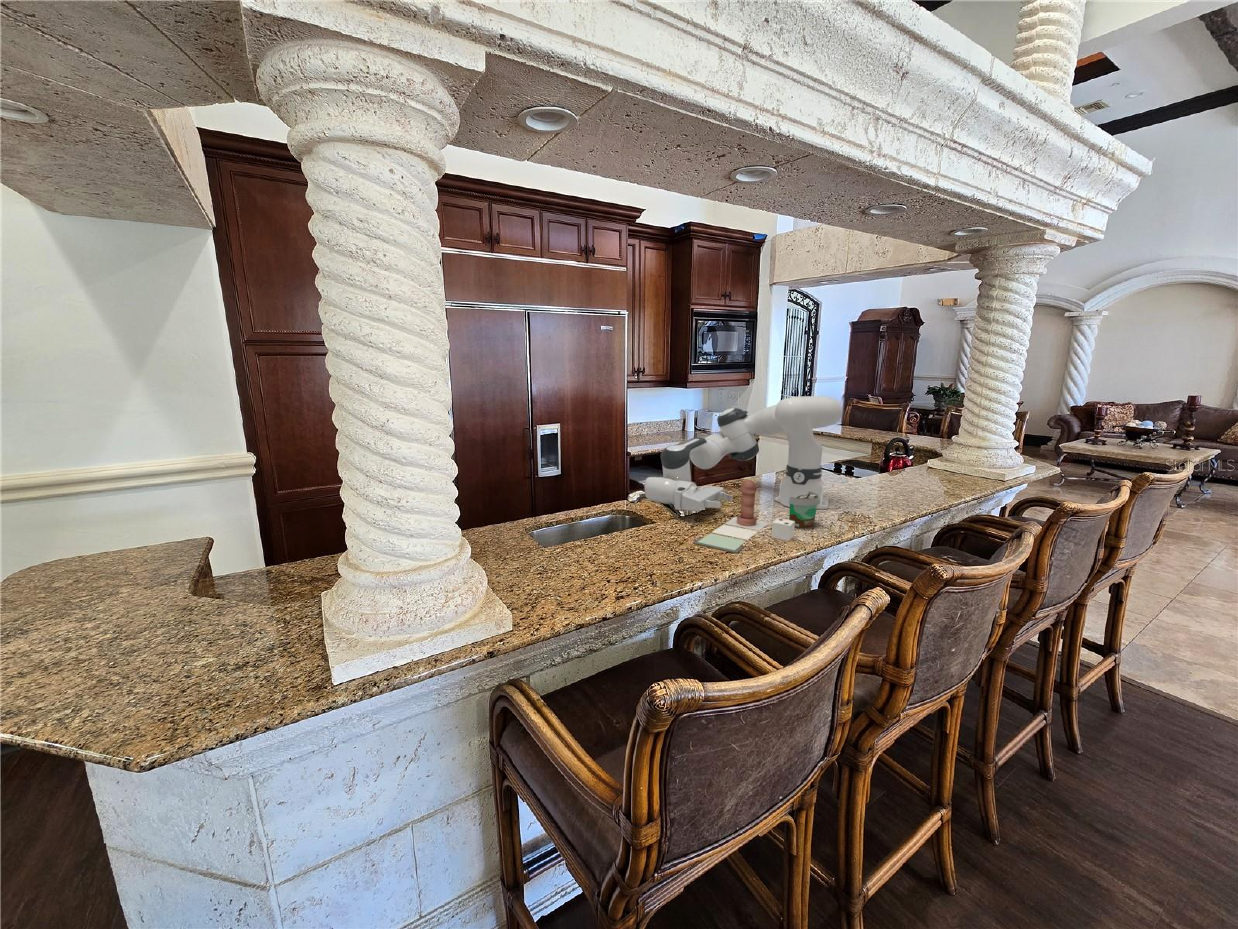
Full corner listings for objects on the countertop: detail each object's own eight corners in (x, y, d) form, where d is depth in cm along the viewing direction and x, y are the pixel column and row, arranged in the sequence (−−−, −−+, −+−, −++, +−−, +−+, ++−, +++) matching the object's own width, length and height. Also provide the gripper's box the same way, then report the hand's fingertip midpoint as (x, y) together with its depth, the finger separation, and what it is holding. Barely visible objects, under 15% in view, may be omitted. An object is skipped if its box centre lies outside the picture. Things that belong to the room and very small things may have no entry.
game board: (733, 516, 165) (733, 515, 165) (772, 523, 158) (772, 522, 158) (692, 543, 140) (692, 542, 140) (736, 553, 133) (736, 552, 133)
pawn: (740, 519, 161) (743, 477, 158) (759, 522, 158) (762, 479, 155) (733, 523, 156) (736, 480, 153) (752, 527, 153) (755, 483, 150)
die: (776, 534, 149) (777, 517, 148) (793, 537, 146) (794, 520, 145) (771, 538, 145) (772, 522, 144) (788, 542, 142) (790, 525, 141)
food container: (805, 533, 150) (807, 501, 148) (786, 528, 154) (789, 497, 152) (824, 525, 158) (828, 494, 156) (806, 520, 162) (809, 490, 160)
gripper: (699, 496, 176) (737, 503, 169) (672, 511, 159) (713, 519, 152) (700, 479, 175) (738, 485, 167) (673, 492, 158) (714, 499, 151)
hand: (726, 501), depth 159 cm, fingers open, 8 cm apart
